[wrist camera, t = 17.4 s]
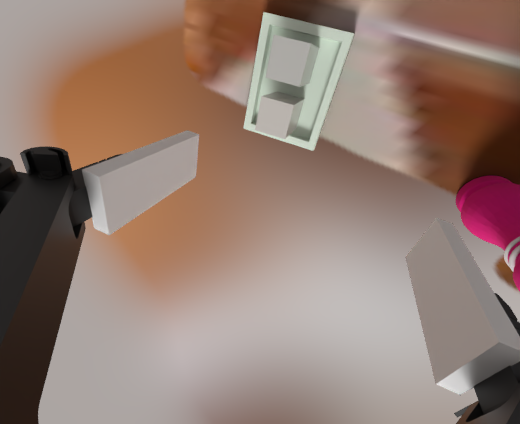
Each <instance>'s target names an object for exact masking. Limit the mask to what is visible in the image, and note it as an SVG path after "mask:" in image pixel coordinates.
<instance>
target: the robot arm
mask: <svg viewBox="0 0 520 424" xmlns="http://www.w3.org/2000/svg"><path fill="white" fill-rule="evenodd" d="M198 141H199V134H196V133H193V132H191V131H184V132H182V133H179V134H177V135H174V136H171V137H168V138H166V139H163V140H160V141H158V142H155V143H152V144H150V145H147V146H144V147H142V148H139V149H136V150H133V151H131V152H128V153H125V154H120V155H115V156H113V157H110V158H107V160H105V159H104V160H102V161H99V163H98V162H96V163H93V164H90V165H88V166H85V167H82V168H80V169H77V170H74V171H72V168H71V164H70V160H69V156H68V152H67V151H65V150H63V149H60V148H56V147H35V148H30V149H27V150H24V151H23V152H21V153H20V155H21V157H22V160H23V163H24V166H25V169H26V171H27V173H22V172H16V170H15V167H14V165H13V162H12V161H11V160H10V159H8V158H4V157H0V424H38V408H39V403H40V399H41V395H42V391H43V387H44V383H45V380H46V376H47V372H48V368H49V364H50V361H51V356H52V353H53V350H54V346H55V342H56V338H57V334H58V330H59V327H60V323H61V319H62V315H63V312H64V308H65V304H66V300H67V296H68V292H69V289H70V285H71V281H72V278H73V274H74V270H75V266H76V262H77V259H78V255H79V251H80V247H81V243H82V240H83V236H84V232H85V223H84V221H86V220H88V219H89V218H91V217H92V220H93V225H94V228H95V229H97V230H99V231H101V232H103V233H106V234H108V235H110V234H112V233H113V232H115V231H116V230H118V229H119V228H121V227H122V226H124V225H125V224H127V223H128V222H129V221H131V220H132V219H134V218H136V217H137V216H138V215H140V214H141V213H143V212H144V211H146V210H147V209H149V208H150V207H152V206H153V205H155V204H156V203H158V202H159V201H161V200H162V199H164V198H165V197H167V196H168V195H170V194H171V193H173V192H174V191H176V190H177V189H178V188H180V187H182V186H183V185H184V184H186V183H187V182H189V181H190V180H192V179H193V178H195V177H196V168H197V155H198ZM406 261H407V265H408V270H409V274H410V278H411V282H412V286H413V291H414V295H415V298H416V303H417V307H418V312H419V315H420V320H421V324H422V328H423V333H424V337H425V341H426V345H427V349H428V353H429V357H430V362H431V366H432V370H433V375H434V379H435V383H436V384H437V385H439V386H441V387H443V388H445V389H448V390H450V391H452V392H454V393H456V394H459V395H461V394H463V393H465V392H467V391H468V390H470V389H472V388H474V389H475V392H476V395H477V397H478V400H479V401H477V402H475V403H473V404H471V405H469V406H467V407H465V408H464V409H462V410H460V411H458V412H456V413H454V414H455V415H456V416H457V417H459V416H461V415H462V416H461V418H460V419H459V421H458V422H457V423H456V424H520V323H519V322H517V318H516V316H515V315H514V313H513V312H512V310H511V309H510V307H509V306H508V305H507V304H506V303H505V302H504V301H503V300H502V298H501V297H500V296H499V295H497V294H496V293H494V292H493V290H492V289H491V287H490V285H489V284H488V282H487V280H486V279H485V277H484V275H483V274H482V272H481V270H480V268H479V267H478V265H477V263H476V262H475V260H474V258H473V257H472V255H471V253H470V252H469V250H468V248H467V246H466V245H465V243H464V241H463V240H462V238H461V236H460V235H459V233H458V231H457V230H456V228H455V226H454V224H453V223H450V222H447V221H444V220H441V219H439V218H436V219H435V220H434V222H433V223H432V224H431V225H430V227H429V228H428V229H427V231H426V232H425V233H424V235H423V236H422V237H421V238H420V239H419V241H418V242H417V243H416V245H415V246H414V247H413V248H412V250H411V251H410V252H409V253H408V255H407V256H406Z"/></svg>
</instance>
